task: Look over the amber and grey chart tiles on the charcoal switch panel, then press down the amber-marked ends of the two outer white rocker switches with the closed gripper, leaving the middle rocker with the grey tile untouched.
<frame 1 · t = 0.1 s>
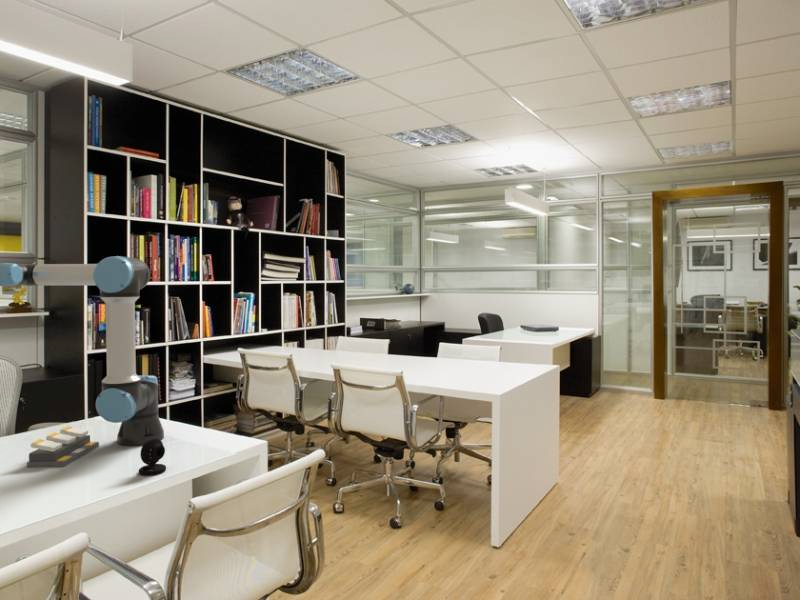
rocker a: (74, 431, 187), point 6 cm above the table, hinge at -12.0°
rocker c: (46, 445, 172), point 6 cm above the table, hinge at -12.0°
switch panel: (65, 456, 180), on the table
rocker b: (61, 438, 180), point 6 cm above the table, hinge at -12.0°
webcam: (152, 472, 165), on the table
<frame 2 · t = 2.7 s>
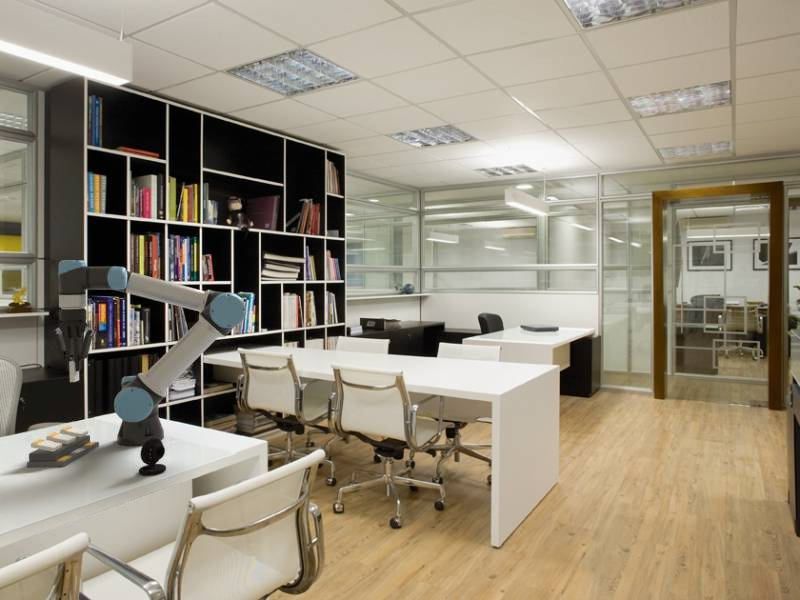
hand: (74, 381, 179), 24 cm above the table, fingers closed
nothing on the table moved.
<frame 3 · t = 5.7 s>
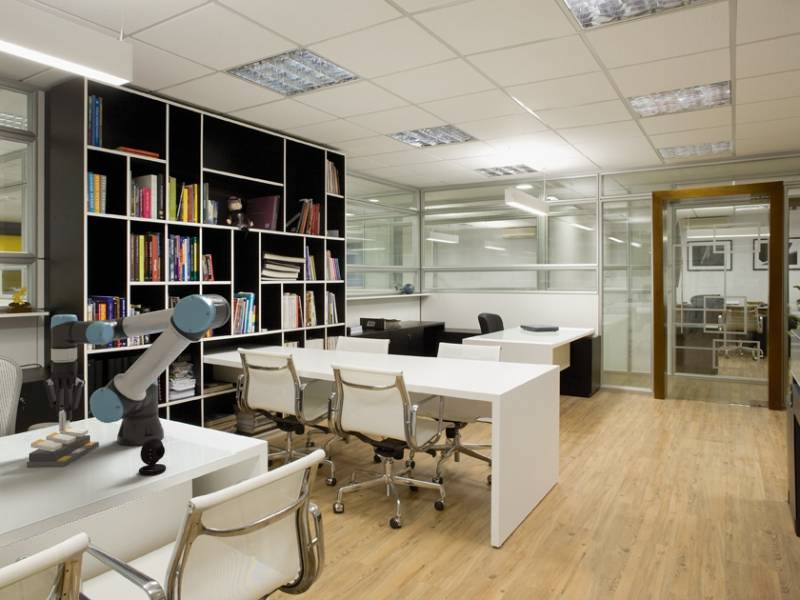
hand: (64, 430, 187), 6 cm above the table, fingers closed
rocker a: (74, 431, 187), point 6 cm above the table, hinge at -8.4°, touching gripper
everything else where it was.
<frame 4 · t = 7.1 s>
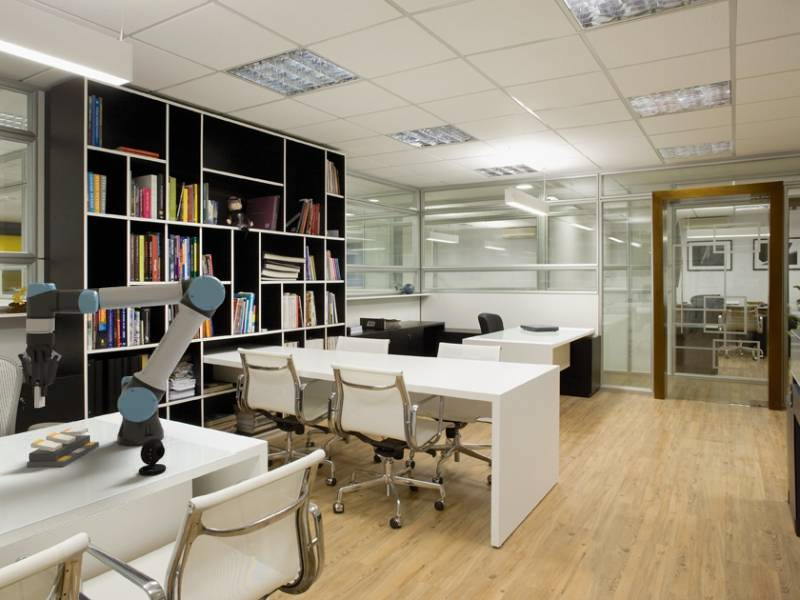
hand: (39, 406, 175), 17 cm above the table, fingers closed
rocker a: (74, 431, 187), point 6 cm above the table, hinge at 2.8°
everything else where it was.
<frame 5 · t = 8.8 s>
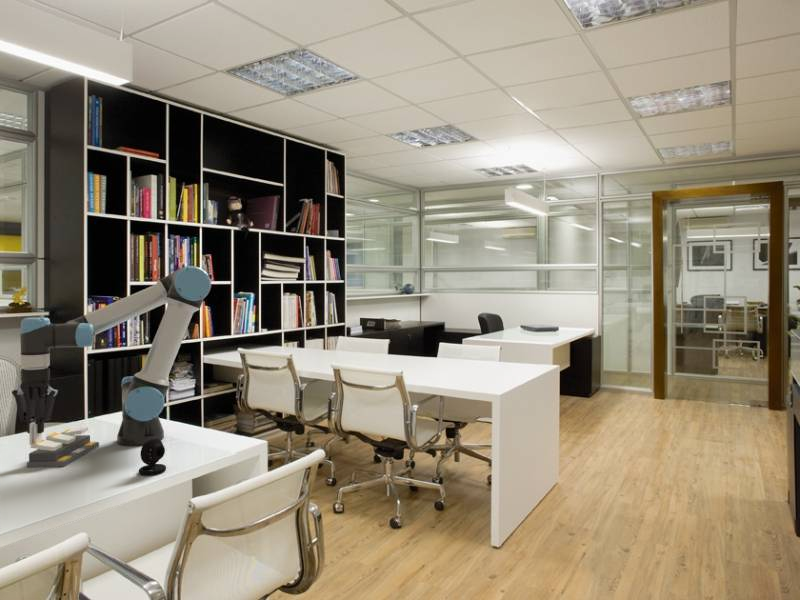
hand: (35, 443, 172), 6 cm above the table, fingers closed, pressing on rocker c
rocker a: (74, 431, 187), point 6 cm above the table, hinge at 8.6°
rocker c: (46, 445, 172), point 6 cm above the table, hinge at -9.3°, touching gripper
everything else where it was.
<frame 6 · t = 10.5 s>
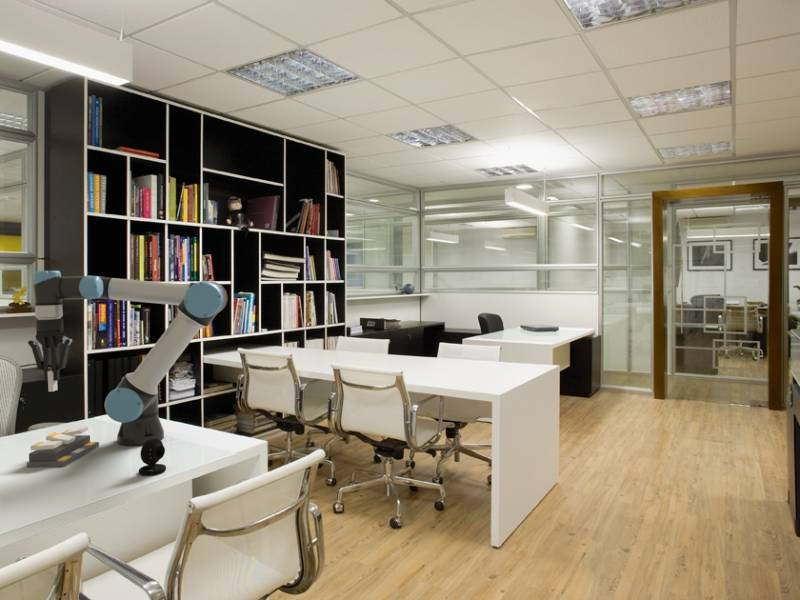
hand: (53, 390, 180), 21 cm above the table, fingers closed
rocker a: (74, 431, 187), point 6 cm above the table, hinge at 10.7°
rocker c: (46, 445, 172), point 6 cm above the table, hinge at 4.4°
everything else where it was.
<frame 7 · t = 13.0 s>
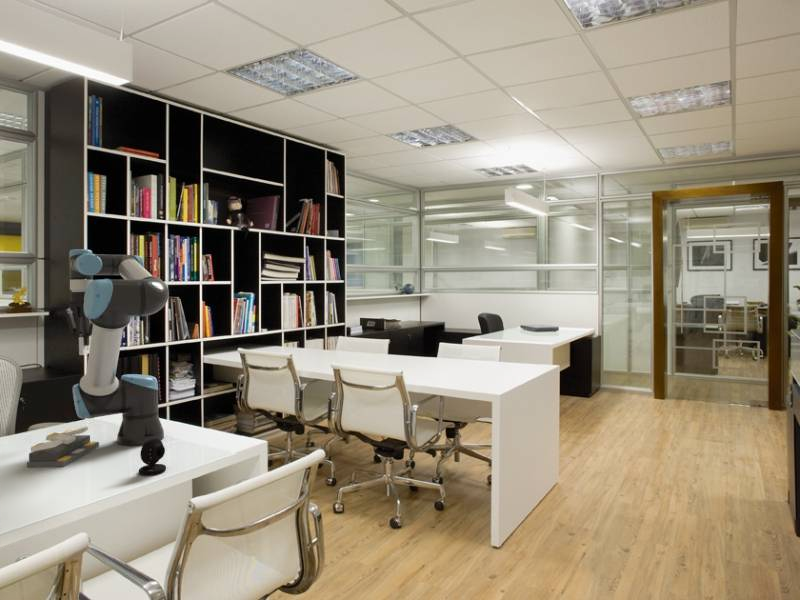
hand: (83, 354, 206), 29 cm above the table, fingers closed
rocker a: (74, 431, 187), point 6 cm above the table, hinge at 11.8°
rocker c: (46, 445, 172), point 6 cm above the table, hinge at 10.9°
everything else where it was.
at the end: rocker a at +12° (first picture: -12°); rocker c at +11° (first picture: -12°); rocker b at -12° (first picture: -12°) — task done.
